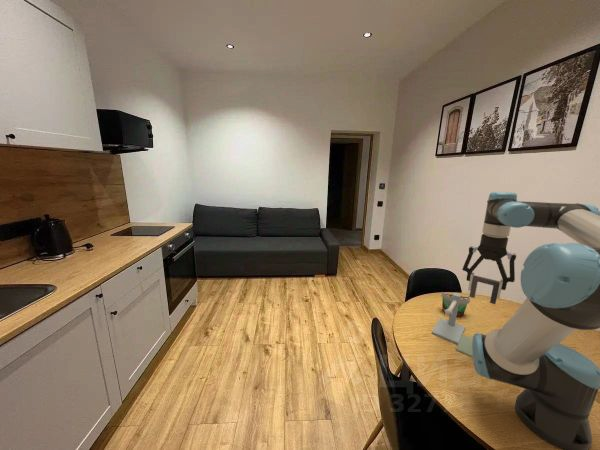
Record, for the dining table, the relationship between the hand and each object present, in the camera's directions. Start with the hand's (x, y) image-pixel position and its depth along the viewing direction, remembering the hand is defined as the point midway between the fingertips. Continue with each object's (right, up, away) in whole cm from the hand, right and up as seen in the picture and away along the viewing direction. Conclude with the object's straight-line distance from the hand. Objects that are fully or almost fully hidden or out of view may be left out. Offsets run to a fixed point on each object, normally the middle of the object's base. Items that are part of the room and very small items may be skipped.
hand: (483, 292), depth 91 cm
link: (0, -3, +1) cm, 3 cm away
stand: (-3, -22, +16) cm, 27 cm away
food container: (+7, -19, +28) cm, 35 cm away
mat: (0, -24, +6) cm, 25 cm away
